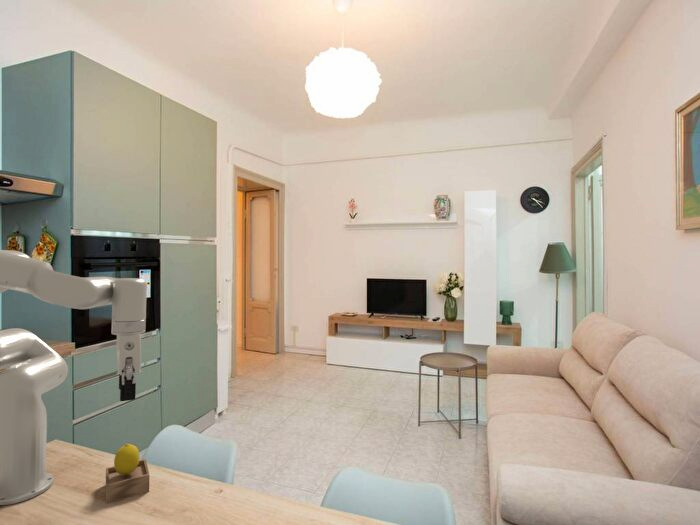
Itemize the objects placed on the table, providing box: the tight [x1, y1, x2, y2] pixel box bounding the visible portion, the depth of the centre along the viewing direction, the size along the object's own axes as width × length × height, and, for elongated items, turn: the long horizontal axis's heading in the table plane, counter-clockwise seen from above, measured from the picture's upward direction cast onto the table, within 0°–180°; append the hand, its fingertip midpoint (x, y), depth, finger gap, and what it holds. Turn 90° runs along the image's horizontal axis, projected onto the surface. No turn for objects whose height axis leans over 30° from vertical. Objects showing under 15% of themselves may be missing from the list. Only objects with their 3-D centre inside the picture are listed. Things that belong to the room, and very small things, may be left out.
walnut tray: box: [105, 458, 150, 504], centre depth 97 cm, size 9×9×4 cm
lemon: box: [113, 443, 140, 476], centre depth 98 cm, size 6×6×8 cm
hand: (126, 394), depth 98 cm, fingers open, 9 cm apart
